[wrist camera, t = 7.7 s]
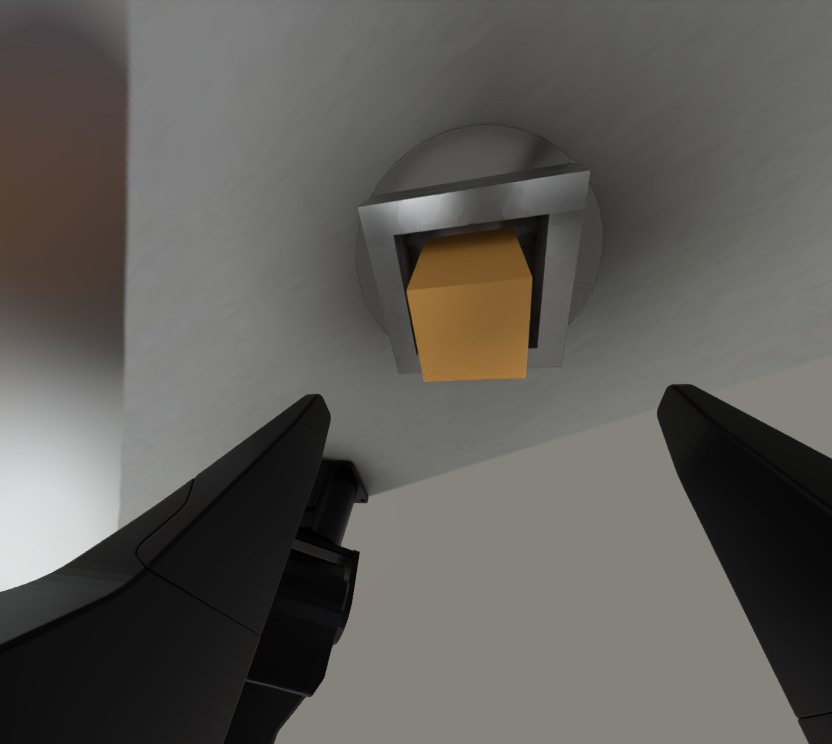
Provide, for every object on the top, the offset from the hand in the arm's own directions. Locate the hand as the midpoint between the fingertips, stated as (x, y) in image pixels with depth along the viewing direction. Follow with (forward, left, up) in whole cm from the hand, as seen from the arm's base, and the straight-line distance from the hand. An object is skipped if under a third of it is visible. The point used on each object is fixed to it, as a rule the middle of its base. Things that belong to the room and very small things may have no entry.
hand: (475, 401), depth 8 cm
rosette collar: (0, 0, -10) cm, 10 cm away
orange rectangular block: (0, 0, -9) cm, 9 cm away
